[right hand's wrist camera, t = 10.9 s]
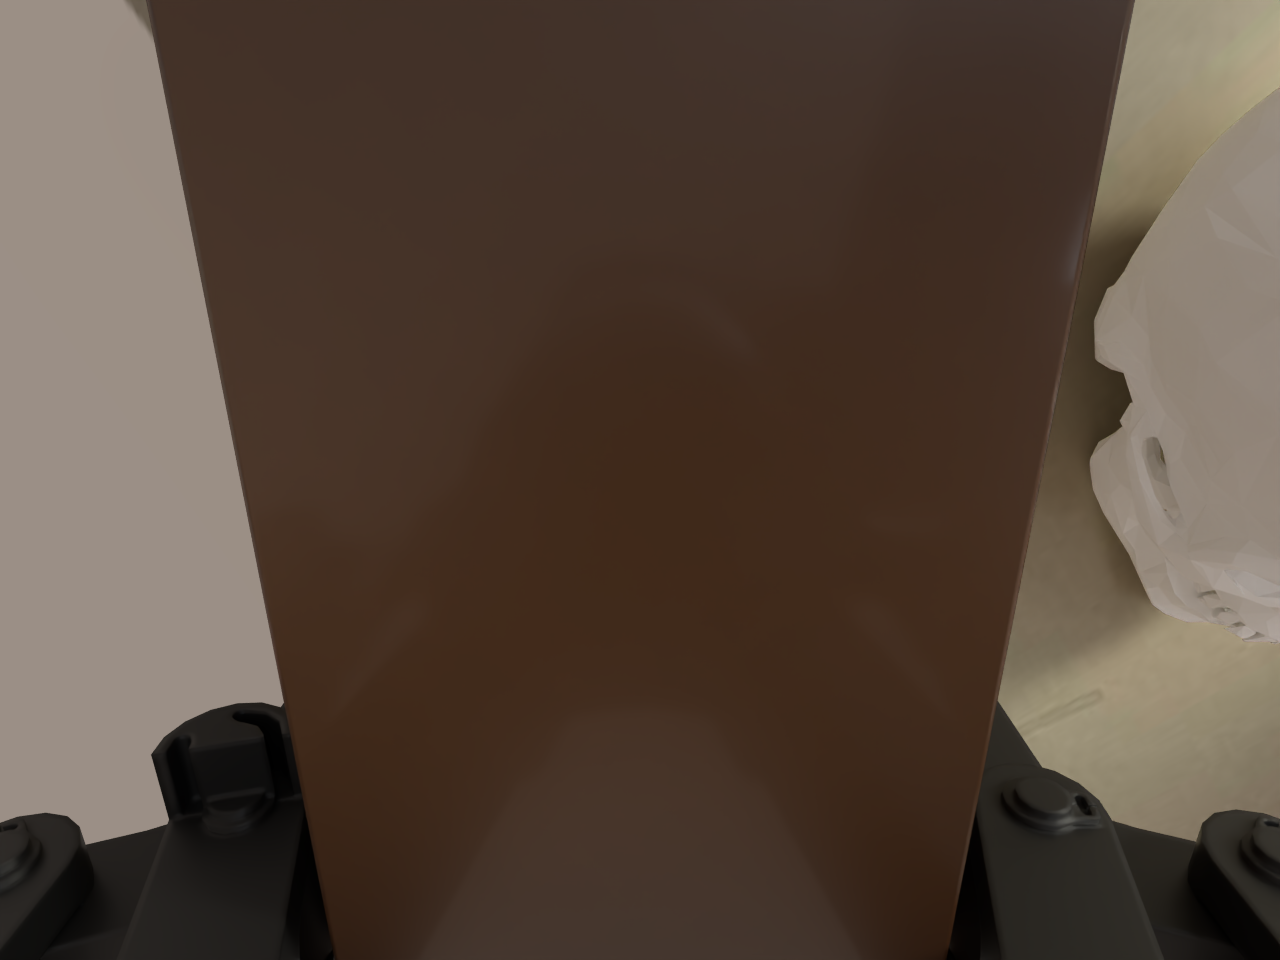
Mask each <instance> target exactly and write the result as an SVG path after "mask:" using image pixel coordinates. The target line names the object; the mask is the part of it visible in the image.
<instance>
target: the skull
mask: <svg viewBox="0 0 1280 960" xmlns="http://www.w3.org/2000/svg"><path fill="white" fill-rule="evenodd" d="M1094 336H1095V359H1096V360H1097V361H1098V362H1100V363H1101V364H1103V365H1104V366H1106V367H1108V368H1109V369H1111V370H1115V371H1119V372H1122V373H1124V376H1125V379H1126V382H1127V385H1128V388H1129V392H1130V395H1131V398H1132V401H1133V402H1132V403H1130V404H1129V406H1128V408H1127V409H1126V411H1125V413H1124V415H1123V416H1122V418H1121V420H1120V422H1121V424H1122V427H1121V428H1120V429H1118V430H1117V431H1116V432H1115V433H1113V434H1111V435H1110V436H1108V437H1106V438H1104V439H1103V440H1101V441H1099V442H1098V444H1097V446H1096V448H1095V450H1094V452H1093V454H1092V456H1091V458H1090V463H1089V464H1090V472H1091V479H1092V487H1093V491H1094V493H1095V495H1096V498H1097V500H1098V502H1099V504H1100V507H1101V509H1102V511H1103V513H1104V515H1105V516H1106V518H1107V520H1108V521H1109V523H1110V524H1111V526H1112V528H1113V529H1114V531H1115V533H1116V534H1117V536H1118V537H1119V539H1120V541H1121V542H1122V544H1123V545H1124V547H1125V549H1126V550H1127V552H1128V553H1129V555H1130V558H1131V560H1132V562H1133V564H1134V567H1135V569H1136V571H1137V573H1138V576H1139V578H1140V580H1141V582H1142V585H1143V587H1144V589H1145V591H1146V593H1147V595H1148V597H1149V599H1150V601H1151V603H1152V605H1153V606H1155V607H1156V608H1158V609H1159V610H1160V611H1162V612H1163V613H1164V614H1167V615H1169V616H1172V617H1175V618H1177V619H1180V620H1182V621H1185V622H1210V623H1215V624H1221V625H1227V626H1230V627H1229V628H1225V629H1226V630H1228V631H1230V632H1232V633H1234V634H1235V635H1237V636H1239V637H1241V638H1244V639H1242V640H1243V641H1251V642H1271V643H1272V644H1278V643H1280V87H1279V88H1278V89H1276V90H1275V91H1274V92H1272V93H1271V94H1270V95H1269V96H1267V97H1266V98H1265V99H1263V100H1262V101H1261V102H1259V103H1258V104H1257V105H1256V106H1254V107H1253V108H1252V109H1250V110H1249V111H1248V112H1247V113H1246V114H1245V115H1244V116H1242V117H1241V118H1240V119H1239V120H1238V121H1237V122H1236V123H1234V124H1233V125H1232V126H1231V127H1230V128H1229V129H1227V130H1226V131H1225V132H1224V133H1223V134H1222V135H1221V136H1220V137H1219V138H1218V139H1217V140H1216V141H1215V142H1214V143H1213V144H1212V145H1211V146H1210V147H1209V148H1208V149H1207V150H1206V152H1205V153H1204V154H1203V155H1202V156H1201V157H1200V158H1199V159H1198V160H1197V161H1196V163H1195V164H1194V165H1193V167H1192V168H1191V170H1190V171H1189V172H1188V174H1187V175H1186V177H1185V178H1184V179H1183V181H1182V182H1181V184H1180V185H1179V186H1178V188H1177V189H1176V191H1175V192H1174V193H1173V195H1172V196H1171V198H1170V199H1169V200H1168V202H1167V203H1166V205H1165V206H1164V207H1163V209H1162V210H1161V212H1160V214H1159V215H1158V217H1157V218H1156V220H1155V221H1154V223H1153V224H1152V226H1151V228H1150V229H1149V231H1148V232H1147V234H1146V235H1145V237H1144V238H1143V240H1142V242H1141V243H1140V245H1139V246H1138V248H1137V249H1136V251H1135V253H1134V254H1133V256H1132V257H1131V259H1130V261H1129V263H1128V265H1127V267H1126V269H1125V271H1124V272H1123V274H1122V275H1121V276H1120V278H1119V279H1118V280H1117V282H1116V283H1115V284H1114V285H1113V286H1111V287H1109V288H1107V291H1106V293H1105V295H1104V298H1103V300H1102V303H1101V305H1100V307H1099V310H1098V312H1097V314H1096V317H1095V319H1094ZM1160 445H1161V448H1162V450H1163V454H1164V459H1165V463H1166V464H1165V463H1164V462H1163V461H1162V460H1161V459H1160ZM1164 509H1165V510H1166V511H1165V510H1164Z"/></svg>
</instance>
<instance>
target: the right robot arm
mask: <svg viewBox="0 0 1280 960" xmlns="http://www.w3.org/2000/svg"><path fill="white" fill-rule="evenodd" d="M151 756H152V759H153V763H154V767H155V770H156V774H157V777H158V781H159V785H160V788H161V792H162V795H163V799H164V803H165V806H166V810H167V813H168V817H169V822H168V824H167V825H164V826H160V827H157V828H154V829H150V830H147V831H143V832H139V833H135V834H131V835H126V836H122V837H117V838H113V839H109V840H105V841H100V842H96V843H92V844H87V845H85V842H84V839H83V836H82V833H81V830H80V827H79V826H78V825H77V824H76V823H75V822H73V821H72V820H71V819H70V818H69V817H67V816H62V815H56V814H50V813H42V814H34V815H27V816H20V817H16V818H13V819H10V820H7V821H4V822H1V823H0V960H334V954H333V949H332V944H331V939H330V934H329V929H328V924H327V919H326V914H325V909H324V904H323V898H322V893H321V888H320V883H319V878H318V873H317V868H316V863H315V858H314V853H313V847H312V842H311V837H310V832H309V827H308V822H307V817H306V812H305V807H304V802H303V796H302V791H301V786H300V781H299V776H298V771H297V766H296V761H295V756H294V751H293V746H292V740H291V735H290V730H289V725H288V720H287V715H286V710H285V705H284V703H283V705H282V706H281V707H277V706H273V705H269V704H266V703H237V704H233V705H229V706H225V707H221V708H217V709H213V710H210V711H208V712H205V713H203V714H201V715H199V716H197V717H194V718H192V719H190V720H188V721H186V722H184V723H183V724H181V725H180V726H179V727H177V728H176V729H175V730H173V731H172V732H171V733H169V734H168V735H166V736H165V737H164V738H163V739H162V741H161V742H160V743H159V745H158V746H157V747H156V749H155V750H154V751H153V753H152V754H151ZM946 960H1280V819H1278V818H1276V817H1273V816H1270V815H1267V814H1264V813H1257V812H1249V811H1242V810H1230V811H1224V812H1218V813H1214V814H1213V815H1212V816H1210V817H1209V818H1208V819H1207V820H1206V821H1205V822H1203V823H1202V826H1201V829H1200V832H1199V835H1198V838H1197V841H1196V842H1195V841H1190V840H1186V839H1182V838H1177V837H1173V836H1169V835H1164V834H1160V833H1156V832H1151V831H1147V830H1143V829H1139V828H1134V827H1131V826H1128V825H1125V824H1121V823H1118V822H1115V821H1112V820H1111V818H1110V816H1109V815H1108V813H1107V812H1106V810H1105V809H1104V807H1103V806H1102V804H1101V802H1100V801H1099V800H1098V799H1097V798H1096V797H1095V796H1093V795H1092V794H1091V793H1090V792H1089V791H1087V790H1086V789H1085V788H1084V787H1083V786H1081V785H1080V784H1079V783H1077V782H1075V781H1073V780H1071V779H1069V778H1067V777H1065V776H1063V775H1061V774H1060V773H1058V772H1056V771H1053V770H1049V769H1046V768H1042V767H1041V765H1040V764H1039V762H1038V761H1037V759H1036V758H1035V756H1034V755H1033V753H1032V752H1031V750H1030V749H1029V747H1028V746H1027V744H1026V743H1025V741H1024V740H1023V738H1022V737H1021V735H1020V734H1019V732H1018V731H1017V729H1016V728H1015V726H1014V725H1013V723H1012V722H1011V720H1010V719H1009V717H1008V716H1007V714H1006V713H1005V711H1004V710H1003V708H1002V707H1001V705H1000V704H999V702H998V701H997V705H996V710H995V715H994V720H993V725H992V730H991V735H990V740H989V745H988V751H987V756H986V761H985V766H984V771H983V776H982V781H981V786H980V791H979V796H978V801H977V807H976V812H975V817H974V822H973V827H972V832H971V837H970V842H969V847H968V852H967V857H966V863H965V868H964V873H963V878H962V883H961V888H960V893H959V898H958V903H957V908H956V913H955V919H954V924H953V929H952V934H951V939H950V944H949V949H948V954H947V959H946Z"/></svg>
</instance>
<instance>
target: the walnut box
mask: <svg viewBox="0 0 1280 960" xmlns="http://www.w3.org/2000/svg"><path fill="white" fill-rule="evenodd" d="M146 1H147V6H148V12H149V17H150V22H151V27H152V32H153V37H154V42H155V47H156V52H157V57H158V63H159V68H160V73H161V78H162V83H163V88H164V93H165V98H166V103H167V108H168V113H169V119H170V124H171V129H172V134H173V139H174V144H175V149H176V154H177V159H178V164H179V170H180V175H181V180H182V185H183V190H184V195H185V200H186V205H187V210H188V215H189V221H190V226H191V231H192V236H193V241H194V246H195V251H196V256H197V261H198V266H199V271H200V277H201V282H202V287H203V292H204V297H205V302H206V307H207V312H208V317H209V322H210V328H211V333H212V338H213V343H214V348H215V353H216V358H217V363H218V368H219V373H220V378H221V384H222V389H223V394H224V399H225V404H226V409H227V414H228V419H229V424H230V429H231V435H232V440H233V445H234V450H235V455H236V460H237V465H238V470H239V475H240V480H241V486H242V490H243V496H244V501H245V506H246V511H247V516H248V521H249V526H250V531H251V537H252V542H253V547H254V552H255V557H256V562H257V567H258V572H259V577H260V582H261V587H262V593H263V598H264V603H265V608H266V613H267V618H268V623H269V628H270V633H271V638H272V644H273V649H274V654H275V659H276V664H277V669H278V674H279V679H280V684H281V689H282V695H283V699H284V705H285V710H286V715H287V720H288V725H289V730H290V735H291V740H292V746H293V751H294V756H295V761H296V766H297V771H298V776H299V781H300V786H301V791H302V796H303V802H304V807H305V812H306V817H307V822H308V827H309V832H310V837H311V842H312V847H313V853H314V858H315V863H316V868H317V873H318V878H319V883H320V888H321V893H322V898H323V904H324V909H325V914H326V919H327V924H328V929H329V934H330V939H331V944H332V949H333V954H334V960H946V959H947V954H948V949H949V944H950V939H951V934H952V929H953V924H954V919H955V913H956V908H957V903H958V898H959V893H960V888H961V883H962V878H963V873H964V868H965V863H966V857H967V852H968V847H969V842H970V837H971V832H972V827H973V822H974V817H975V812H976V807H977V801H978V796H979V791H980V786H981V781H982V776H983V771H984V766H985V761H986V756H987V751H988V745H989V740H990V735H991V730H992V725H993V720H994V715H995V710H996V705H997V700H998V695H999V689H1000V684H1001V679H1002V674H1003V669H1004V664H1005V659H1006V654H1007V649H1008V644H1009V639H1010V633H1011V628H1012V623H1013V618H1014V613H1015V608H1016V603H1017V598H1018V593H1019V588H1020V583H1021V577H1022V572H1023V567H1024V562H1025V557H1026V552H1027V547H1028V542H1029V537H1030V532H1031V527H1032V521H1033V516H1034V511H1035V506H1036V501H1037V496H1038V491H1039V486H1040V481H1041V476H1042V471H1043V465H1044V460H1045V455H1046V450H1047V445H1048V440H1049V435H1050V430H1051V425H1052V420H1053V415H1054V409H1055V404H1056V399H1057V394H1058V389H1059V384H1060V379H1061V374H1062V369H1063V364H1064V359H1065V353H1066V348H1067V343H1068V338H1069V333H1070V328H1071V323H1072V318H1073V313H1074V308H1075V303H1076V297H1077V292H1078V287H1079V282H1080V277H1081V272H1082V267H1083V262H1084V257H1085V252H1086V247H1087V241H1088V236H1089V231H1090V226H1091V221H1092V216H1093V211H1094V206H1095V201H1096V196H1097V191H1098V185H1099V180H1100V175H1101V170H1102V165H1103V160H1104V155H1105V150H1106V145H1107V140H1108V135H1109V129H1110V124H1111V119H1112V114H1113V109H1114V104H1115V99H1116V94H1117V89H1118V84H1119V79H1120V73H1121V68H1122V63H1123V58H1124V53H1125V48H1126V43H1127V38H1128V33H1129V28H1130V23H1131V17H1132V12H1133V7H1134V2H1135V0H146Z"/></svg>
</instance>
